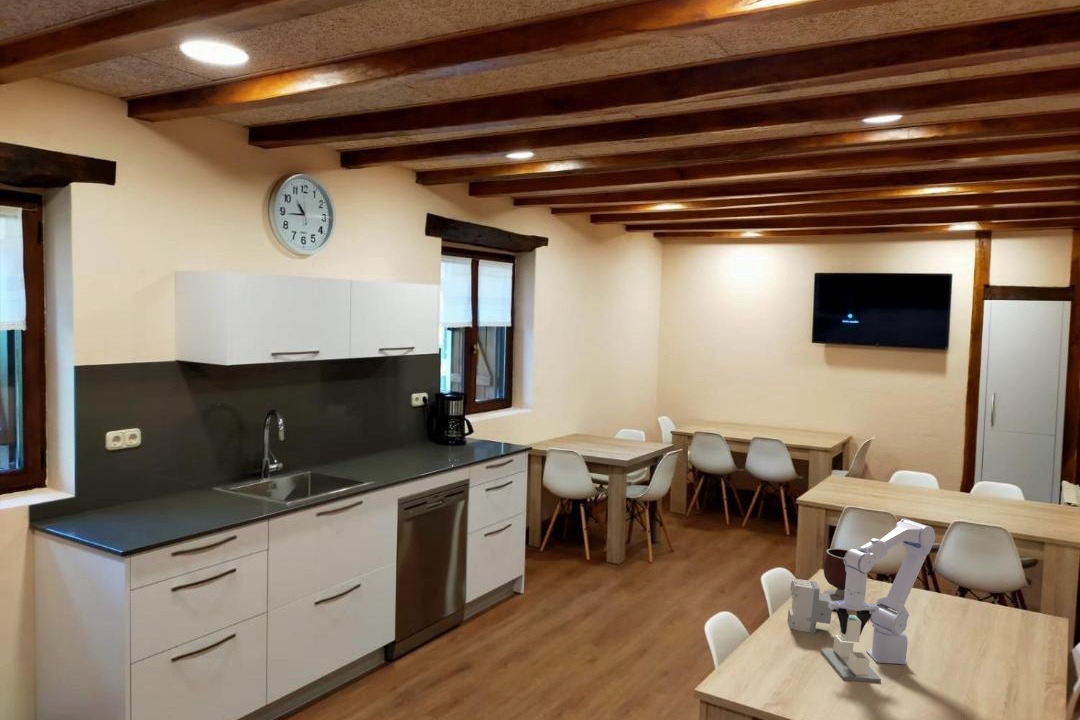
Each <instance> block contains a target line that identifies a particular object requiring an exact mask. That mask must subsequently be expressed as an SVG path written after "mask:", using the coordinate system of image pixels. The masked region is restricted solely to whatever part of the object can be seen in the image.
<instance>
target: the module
mask: <svg viewBox="0 0 1080 720" xmlns="http://www.w3.org/2000/svg"><path fill="white" fill-rule="evenodd" d="M860 629H861V620H860V619H858V618H857V615H854V614H849V617H848V621H847V627H846V634H843V633H842V632H841V631H840V633H839V634H840V635H841V636H842V638H843V639H844V640H845V641H849V642H854V643H860V639H861V638H860V637H861V635H860Z"/></svg>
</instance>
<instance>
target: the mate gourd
mask: <svg viewBox="0 0 1080 720" xmlns="http://www.w3.org/2000/svg"><path fill="white" fill-rule="evenodd" d="M849 550H850V549H843V548H828V549H826V553H825V555H824V558H823V566H822V567H823V576H824V578H825V580H826V582H827V583H828V584H829V585H830V586H833V587H834V588H836V590H833V589H831V590H830V589H828V590H824V591H823V592H822V593H824V594H829V596H830V598H831V600H832V601H843V600H844V594H845V585H846V575H847V572H846V570H845V564H844V560H843V558H844V557H845V554H846V553H847V551H849Z"/></svg>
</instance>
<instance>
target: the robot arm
mask: <svg viewBox="0 0 1080 720" xmlns="http://www.w3.org/2000/svg"><path fill="white" fill-rule="evenodd" d="M935 541H936V533H935V529H934V528H933V527H932V526H931V525H926V524H923V523H920V522H916V521H913V520H910V519H908V518H902V519H901V520H900V521H897V522H896V524H895V527H894V528H893V530H891V531H890V532H889V533H887V534H886V535H884V536H883V537H881V538H880V539H879V538H871V540H870V541H868V542H867V543H865V544H863V545H861V546H860V547H859V548H857V549H856V548H850V549H848V550H849V551H847V553H846V554H845V557H844V558H843V560H844V564H845V570H846V572H847V575H846V585H845V594H844V600H843V601H829V604H828V607H829V609H831V610H834V609H835V610H836V612H835V613H836V614H837V618H838V622H839V627H840V632H842V633H843V634H846V627H847V621H848V617H849V615H850V614H849V613H848V611H856V617H857V618H858V619H860V620H861V629H860V636H861V635H862V632H863V630H864V628H865V626H866V624H867V623H868V622H869V621H870V623H872V627H873V634H872V635H873V636H872V644H871V646H872V647H871V649H866V650H865V651H866V652H867V654H868V655H869V656H870V657H871V658H872V659H873V661H875V662H876V663H880V664H882V663H884V664H896V665H898V664H899V665H907V653H908V645H909V644H908V636H907V634H906V633H905V631H906V629H907V624H908V619H909V616H910V614H909V611H908V609H907V608H906V606H905V604H906V602H907V599H908V598H909V596H910V593H911V591H912V588H913V587H914V584H915V582H916V580H917V577H918V576H919V573H920V571H921V569H922V567H923V564H924V563H925V560H926V558H927V556H928V555H929V554H930V552H931V550H932V547H933V545H934V543H935ZM899 544H902V546H903V547H905V549H906V554H905V556H904V559H903V560H902V563H901V565H900V568H899V569H898V572H897V574H896V575H895V578H894V580H893V582H892V585H891V587H890V588H889V591H888V594H887V595H886V596H884V597H882V598H878V599H877V601H876V603H875V604H873V603H867V602H865V600H866V599H865V598H866V588H867V581H868V580H867V579H868V573H869V572H870V571H871V570H872V569H873V566H874V565H875V564H876V562H878V561H880V560H881V559H882V558H884V557H885V556H887V555H888V551H889V549H892V548H894V547H895V546H898V545H899Z"/></svg>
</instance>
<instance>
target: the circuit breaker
mask: <svg viewBox="0 0 1080 720" xmlns="http://www.w3.org/2000/svg"><path fill="white" fill-rule="evenodd" d="M789 590H790V595H791V607H788V611H787V624H788V627H789V630H794V631H800V632H806V633H813V634H815V633H816V631H817V630H816V629H817V623H821V624H828V625H831V621H832V613H837V612H836V610H835V609H834V610H831V609H829V607H828V604H829V601H832V600H831V598H830V596H829V594H824V593H823V592H821V591H820V588H819V585H818V582H817V581H814V580H806V579H801V578H800V579H799V578H792V579H791V583H790V589H789Z"/></svg>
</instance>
